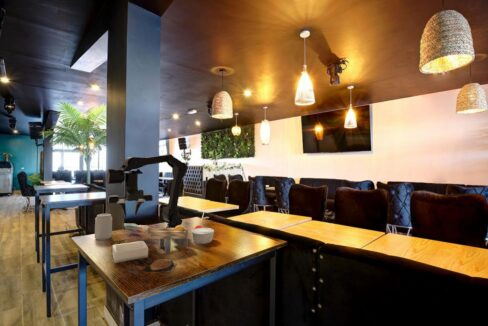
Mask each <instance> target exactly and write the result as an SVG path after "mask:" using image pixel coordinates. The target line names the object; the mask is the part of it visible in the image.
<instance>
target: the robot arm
mask: <svg viewBox="0 0 488 326" xmlns="http://www.w3.org/2000/svg"><path fill="white" fill-rule="evenodd" d="M162 163H167V165H168V166H169V167H170V168H171V169H172V170H171V173H172V174H171V175H172V183H171V189H170V193H169V198H168V204H167V205H166V206H163V208H162V213H161V215H162V218H163V220H164V221H165V223H166V227H165V228H175V227H176V226H178V225H180V226H182V223H183V220H182V218H181V217H179V214H180V213H179V208H178V203H179V199H180V198H179V197H180V193H181V188H182V181H183V179H184V177H185V176H186V174H187V171H188V167H189V166H188V165H187V164H186V162H182V161H181V160H180V159H178V158H176V157H175V156H174V155H173V154H170V153H168V154H162V155H154V156H148V157H141V156H140V157H137V156H134V157H133V156H130V157H126V158H125V159H124V161H123V164H122V165H121V167H119V169H114V168H112V169H111V168H108V169H107V172H106V176H105V182H106V185H121V184H122V183H124V190H123V191H124V192H123V194H124V195H123V196H119V195H117V194H115V195H108V197H107V203H108V204H117V205H120V206H121V209H122V212H123V216H124V218H127V209H126V202H125V201H127V202H132V201H133V202H134V201H135V205H134V213H133V214H134V217H137V214H138V212H139V208H140V207H141V205H142V204H144V203H145V202H153V199H154V197H153V195H152V194H151V193H144V189H139V186H138V185H139V183H138V182H139V175H143V174H144V172H142V171H141V168H143V167H145V166H148V165H155V164H156V165H157V164H162Z"/></svg>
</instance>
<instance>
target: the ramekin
mask: <svg viewBox="0 0 488 326" xmlns="http://www.w3.org/2000/svg"><path fill="white" fill-rule="evenodd" d="M193 229H194V228H193ZM193 229H192V230H191V235H192V241H193V242H194V243H195V244H201V245H202V244H203V245H205V244H209V243H211V242H212V241H213V238H214V234H215V230H214V229H213V228H211V227H205V228H197V229H194V230H193Z"/></svg>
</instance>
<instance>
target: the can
mask: <svg viewBox="0 0 488 326" xmlns="http://www.w3.org/2000/svg"><path fill="white" fill-rule="evenodd" d="M94 221H95V222H94V223H95V224H94V239H95V240H97V241H104V240H105V241H106V240H109V239H110V238H111V237H112V235H113V234H112V233H113V216H112V214H110V213H99V214H97V215H96V217H95V219H94Z"/></svg>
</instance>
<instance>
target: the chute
mask: <svg viewBox="0 0 488 326" xmlns="http://www.w3.org/2000/svg"><path fill="white" fill-rule="evenodd" d="M181 226H182V227H183V231H174V229H175V228H166V227H150V226H148V225H147V224H145V225H143V224H139V225H138V224H136V223H129V222H128V223H123V227H124V228H125V229H126V230H127V229H129V230H131V229H132V230H133V229H134V230H135V229H137V230H138V229H140V230H142V231H143V232H144V233H145V235H146V236H147V237H148V238H149V239H150V240H154V239H156V240H157V239H158V240H159V239H165V237H168V236H170V237H171V240H172V241H173V242H174V243H175V244H176V245H177V246H178V247H186V246H189V239H188V233H189V232H188V231H189V229H188V228H186V227H185V226H183V225H181Z"/></svg>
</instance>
